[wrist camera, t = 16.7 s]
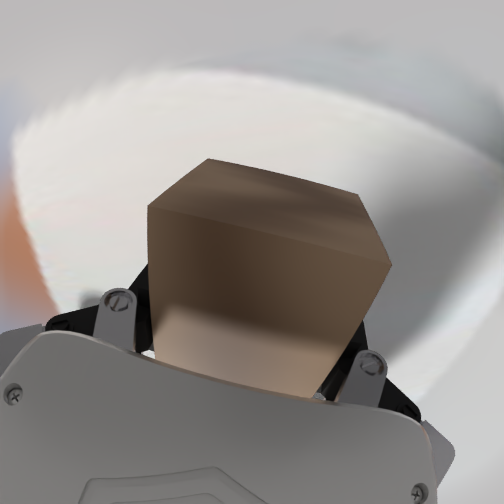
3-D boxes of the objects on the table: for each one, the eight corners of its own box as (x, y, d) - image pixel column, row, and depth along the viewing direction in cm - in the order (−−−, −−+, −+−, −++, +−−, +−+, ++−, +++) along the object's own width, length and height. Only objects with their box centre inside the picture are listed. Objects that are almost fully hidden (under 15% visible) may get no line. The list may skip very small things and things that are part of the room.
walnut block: (357, 194, 11) (392, 264, 6) (302, 334, 15) (297, 416, 11) (207, 158, 11) (147, 205, 6) (192, 308, 15) (158, 383, 11)
